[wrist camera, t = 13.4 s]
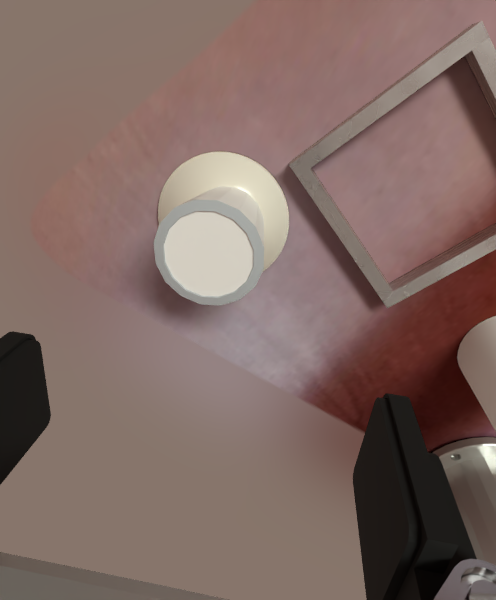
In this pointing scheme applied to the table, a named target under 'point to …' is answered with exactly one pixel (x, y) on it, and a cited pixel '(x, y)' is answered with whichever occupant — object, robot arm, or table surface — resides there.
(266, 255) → the cream flat disc
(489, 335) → the cylindrical container
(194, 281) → the white cup
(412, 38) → the table surface
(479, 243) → the holder collar
